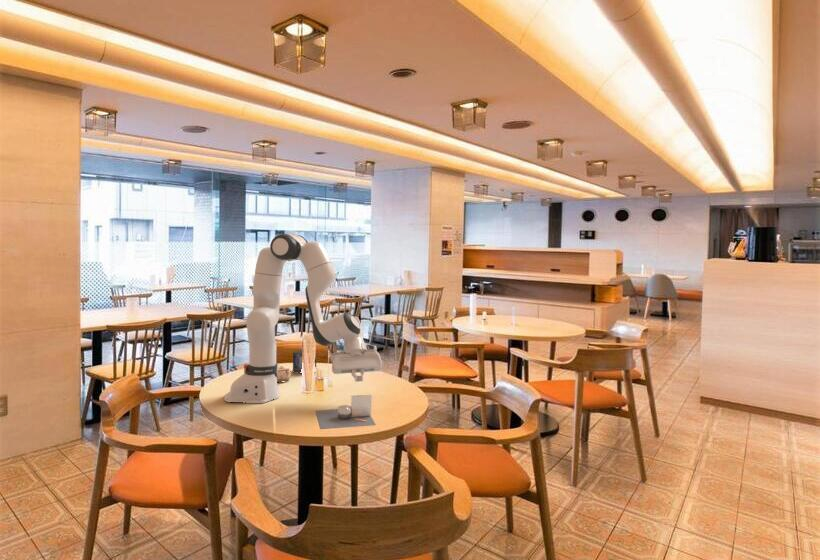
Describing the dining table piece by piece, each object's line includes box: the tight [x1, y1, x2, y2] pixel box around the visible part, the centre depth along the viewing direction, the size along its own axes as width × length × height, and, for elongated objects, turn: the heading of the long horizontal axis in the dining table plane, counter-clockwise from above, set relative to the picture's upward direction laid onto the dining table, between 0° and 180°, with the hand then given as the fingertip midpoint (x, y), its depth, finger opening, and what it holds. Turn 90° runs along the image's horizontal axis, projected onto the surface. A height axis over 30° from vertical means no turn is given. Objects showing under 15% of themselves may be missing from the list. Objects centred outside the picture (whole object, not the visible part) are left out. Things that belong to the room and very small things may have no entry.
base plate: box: [315, 408, 377, 430], centre depth 189 cm, size 20×20×1 cm
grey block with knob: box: [337, 394, 373, 419], centre depth 190 cm, size 12×5×8 cm, turn 106°
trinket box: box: [277, 363, 292, 382], centre depth 240 cm, size 13×15×8 cm
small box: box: [292, 349, 318, 374], centre depth 256 cm, size 11×6×10 cm, turn 70°
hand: (359, 380), depth 200 cm, fingers closed
